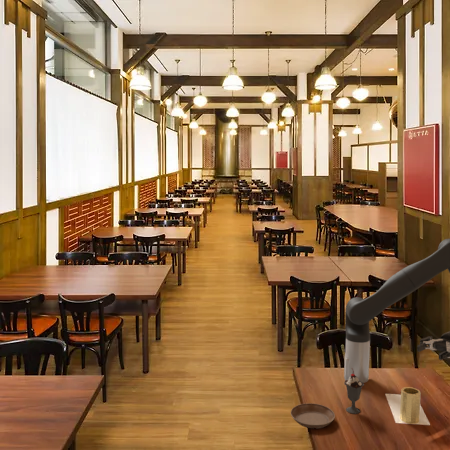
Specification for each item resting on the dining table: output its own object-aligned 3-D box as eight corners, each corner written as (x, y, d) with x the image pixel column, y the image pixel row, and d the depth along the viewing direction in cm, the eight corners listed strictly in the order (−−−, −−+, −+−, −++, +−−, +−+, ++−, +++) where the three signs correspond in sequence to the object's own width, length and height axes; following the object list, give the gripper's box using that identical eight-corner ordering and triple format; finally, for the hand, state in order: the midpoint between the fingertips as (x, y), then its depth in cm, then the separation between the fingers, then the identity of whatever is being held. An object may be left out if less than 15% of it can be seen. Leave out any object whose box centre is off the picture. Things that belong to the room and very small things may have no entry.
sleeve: (411, 425, 175) (412, 396, 174) (396, 417, 180) (397, 389, 179) (422, 420, 179) (424, 392, 177) (408, 413, 184) (409, 385, 182)
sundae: (349, 404, 192) (351, 364, 191) (366, 410, 188) (367, 369, 186) (339, 410, 188) (340, 369, 186) (356, 417, 183) (357, 375, 181)
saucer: (326, 436, 171) (326, 428, 171) (283, 425, 178) (283, 417, 178) (340, 416, 184) (340, 409, 184) (299, 407, 191) (299, 399, 191)
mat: (395, 425, 177) (395, 422, 177) (385, 396, 199) (385, 393, 199) (430, 427, 176) (430, 425, 176) (415, 397, 197) (415, 395, 197)
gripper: (439, 324, 198) (411, 336, 189) (475, 336, 187) (447, 349, 178) (438, 343, 200) (411, 356, 191) (474, 356, 188) (446, 370, 179)
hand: (428, 353), depth 184 cm, fingers open, 8 cm apart
